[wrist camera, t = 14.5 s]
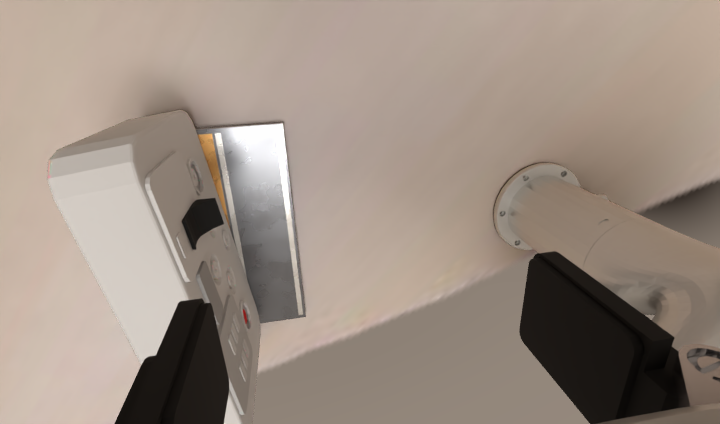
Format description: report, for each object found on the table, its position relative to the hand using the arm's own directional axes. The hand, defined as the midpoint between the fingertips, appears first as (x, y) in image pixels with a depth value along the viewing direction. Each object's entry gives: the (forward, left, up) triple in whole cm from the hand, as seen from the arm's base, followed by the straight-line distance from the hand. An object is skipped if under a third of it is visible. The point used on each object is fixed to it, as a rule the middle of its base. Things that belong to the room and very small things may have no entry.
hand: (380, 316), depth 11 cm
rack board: (+10, +13, -36) cm, 40 cm away
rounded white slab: (+13, +12, -35) cm, 39 cm away
